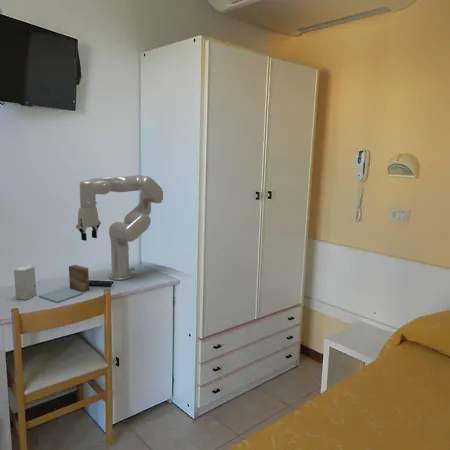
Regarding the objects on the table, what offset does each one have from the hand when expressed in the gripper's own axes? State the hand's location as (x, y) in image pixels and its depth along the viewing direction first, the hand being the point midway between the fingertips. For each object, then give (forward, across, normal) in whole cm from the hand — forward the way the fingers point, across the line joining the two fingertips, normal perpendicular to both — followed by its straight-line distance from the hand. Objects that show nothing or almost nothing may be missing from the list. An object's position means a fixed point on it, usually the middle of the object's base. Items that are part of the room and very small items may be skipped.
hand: (89, 238), depth 221 cm
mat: (+25, +18, 0) cm, 31 cm away
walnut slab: (+26, +8, 0) cm, 27 cm away
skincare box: (+26, +30, -12) cm, 41 cm away
